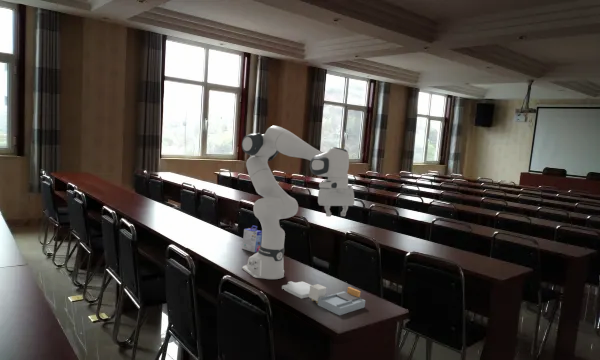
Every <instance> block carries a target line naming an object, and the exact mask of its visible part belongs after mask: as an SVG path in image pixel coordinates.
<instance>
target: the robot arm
mask: <svg viewBox="0 0 600 360" xmlns="http://www.w3.org/2000/svg"><path fill="white" fill-rule="evenodd" d="M241 149H242V151H243V152H244V153H245V154H247V155H249V156H250V157H248V159H246V162H245V167H246V169H247V173H248V177H249V178H250V181H251V183H252V185H253V187H254V189H255V192H256V194H258V195H260V196H261V197H262V198H258V199H257V200H256V201H255V202H254V204H253V209H252V210H253V214H254V216H255V218H257V220H258V221H259V222H260V225H261V231H262V238H261V245H260V246H259V247H257V248H259V250H258V252H254V254H253V255H251V256H249V257H248V259H247V264H245V265H243V266H242V268H241V269H242V270H244V272H246V273H248V274H249V275H250V276H252V277H253V278H256V279H266V280H278V279H282V278H284V277H285V275H284V274H285V270H284V268H285V267H284V264H285V263H284V259H285V258H284V254H285V239H286V237H285V236H286V233H285V230H284V229H283V228H282V227H281V225H280V220H283V219H289V218H291V217H294V216H296V215H297V214H298V212H299V204H298V201H297V200H296V198H294V197H292V196H291V195H289V194H288V193H287V192H286V191H285V190H284V189H283V188H282V187H281V186H280V184H279V183H278V181H277V180H276V178H275V175H274V174H273V173H272V169H271V168H270V166H269V163H268V162H272V161H273V159H274V158H276V157H277V156H278V154H279V153H280V154H282V155H285V156H287V157H291V158H292V157H293V158H299V159H305V160H308V161H310V162H309V169H310V172H311V174H313V175H315V176H317V177H325V178H326V177H327V179H326V180H324V181H321V182H319V184H318V187H319V190H318V193H317V195H318V196H317V203H318V206H323V207H324V211H325V216H326V217H328V218H329V217H331V216H332V212H331V210H330V209H331V207H342V211H340V216H341V217H346V215H347V211H348V210H349V207H353V206H354V205H355V191H354V188H353V186H352V185H350V184H349V175H348V172H349V168H350V157H349V156H350V155H349V151H348V150H347V149H346V148H342V147H337V146H333V147H330V149H329V150H327V151H324V152H323V151H321V150H319V149H318V148H316V147H314V146H312V145H311V144H309V143H307V141H304V140H303V139H301V138H300V137H299V136H297V135H296V134H294V133H293V132H291V131H290V130H288V129H286V128H283V127H282V126H280V125H279V126H278V125H272V126H269V127H268V128H267V129H266V131H265V133H263V134H262V133H260V132H257V133H249V134H247V135H245V136H243V138H242V140H241Z"/></svg>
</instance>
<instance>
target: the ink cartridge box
mask: <svg viewBox="0 0 600 360" xmlns="http://www.w3.org/2000/svg"><path fill="white" fill-rule="evenodd" d="M261 243H262V230H258V226H257V225H252V226H251V227H248V228H244V229H243V238H242V245H241V246H242V247H241V249H242V250H245V251H249V252H251V253H257V252H258V250H259V248H257V247H259V246H260V245H261Z"/></svg>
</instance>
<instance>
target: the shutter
mask: <svg viewBox="0 0 600 360" xmlns="http://www.w3.org/2000/svg"><path fill="white" fill-rule="evenodd" d="M346 290H347V291H344V292H345V293H341V294H338V295H336V296H337V297H339V298H341V299H343V300H346V301H350V300H352V301H354V300H358V299H362V297H361V291H360V290H359V289H356V288H353V287H351V286H348V287H347V289H346Z"/></svg>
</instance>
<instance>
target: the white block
mask: <svg viewBox="0 0 600 360" xmlns="http://www.w3.org/2000/svg"><path fill="white" fill-rule="evenodd" d="M311 285H312V284H311ZM326 294H327V287H326V286H324V285H321V284H320V283H316V284H313V285H312V286H310V291H309V297H308V298H309V299H311V301H312V302H315V303H316V304H318V298H321V297H325V296H327V295H326Z"/></svg>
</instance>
